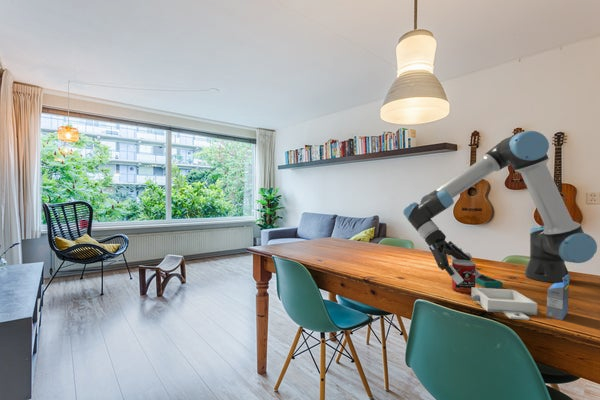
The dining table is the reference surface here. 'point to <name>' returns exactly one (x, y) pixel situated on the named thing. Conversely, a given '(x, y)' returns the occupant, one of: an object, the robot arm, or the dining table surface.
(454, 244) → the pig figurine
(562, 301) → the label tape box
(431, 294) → the dining table surface
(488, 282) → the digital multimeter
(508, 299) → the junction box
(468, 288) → the canned food
